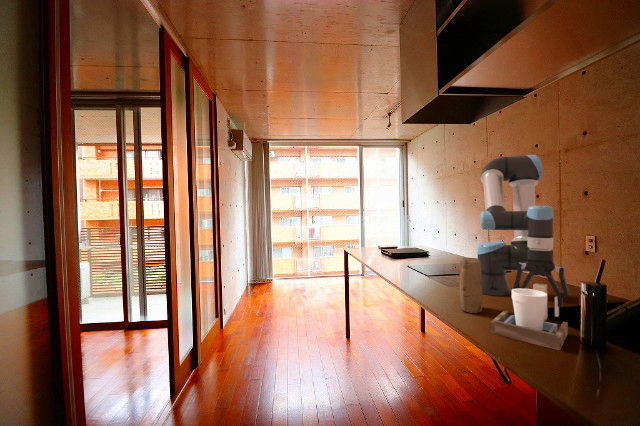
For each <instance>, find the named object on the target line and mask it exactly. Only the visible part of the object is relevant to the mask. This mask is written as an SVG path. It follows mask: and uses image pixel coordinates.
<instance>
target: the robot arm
mask: <svg viewBox="0 0 640 426" xmlns="http://www.w3.org/2000/svg"><path fill="white" fill-rule="evenodd" d="M541 179H543V164H542V161H541V158H540V157H539V156H538V155H536V154H525V155H523V154H522V155H513V156H512V155H511V156H500V157H499V156H498V157H496V158H494V159H491V160H490V161H489V162H487V163H486V164H485V165H484V167H483V168H482V170H481V172H480V182H481V184H482V185H483V198H484V210H485V211H481V212H480V228H481V229H482V230H486V231H487V230H488V231H513V239H511V240H510V244H507V243H506V242H505V241H487V242H482V243H480V244H478V245H477V251H476V252H477V253H476V255H477V259H479V260H480V262H481V276H482V295H488V296H493V297H494V296H497V297H498V296H500V297H501V296H504V297H505V296H509V295H510V294H511V287H510V283H509V282H508V279H507V275H506V273H507V271H509V272H510V271H514V272H517V273H516V276H515V280H514V283H513V289H520V288H522V289H527V286H528V285H529V284H530V283H531V282H530V281H532V278H533V277H534V276H541V277H545V278H546V279H547V281H548V282H549V284H550V286H551V288H552V289H553V291H554V293H555V295H556V296H555V297H554V317H557V318H558V317H559V315H560V308H562V307H563V304H564V301H563V299H564V298H568V297H569V296H570V291H569V287H568V283H567V279H566V275H565V273H566V271H565V270H566V268H565V267H564V266H557V265H556V264H555V263H554V251H553V249H554V217H555V215H554V208H553V206H551V205H536V191H535V190H536V189H535V187H536V186H537V185H538V184H539V181H540V180H541ZM503 182H508V185H509V186H510V187H511V188H512V202H513V203H512V204H513V207H512V209H513V210H509V211H508V210H507V208H506V200H505V196H504V195H505V193H504V188H503V187H504V186H503ZM554 270H555V271H556V273H557V274H558V276H559V277H558V278H559V281H560V285H561V288H560V287H559V285H558V283H557V282H556V280H555V278H554V276H553V273H552V272H553V271H554ZM524 272H525V273H526V272H527V273H528V274H527V276H526V277H525V279H524V281H523V282H522V283H521V280H522V277H523V273H524ZM520 284H521V286H520ZM561 289H562V291H561Z"/></svg>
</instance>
